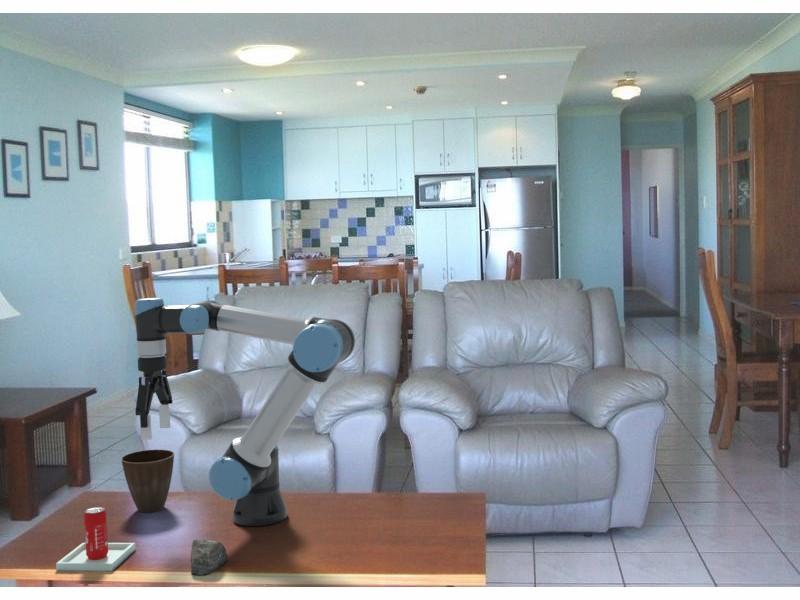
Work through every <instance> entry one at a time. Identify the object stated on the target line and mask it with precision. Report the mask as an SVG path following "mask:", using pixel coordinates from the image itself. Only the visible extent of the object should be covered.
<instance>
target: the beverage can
mask: <svg viewBox="0 0 800 600" xmlns="http://www.w3.org/2000/svg"><path fill="white" fill-rule="evenodd" d="M105 509H106V508H105V507H102V506H95V507H94V506H93V507H90V508H87V509H85V510H84V514H83V520H84V521H83V523H84V539H85V540H84V541H85V542H84V543H86V555H87V557H88V559H89V560H101V559H104V558H106V557H107V553H108V543H109V542H108V541H109V539H108V524H107V523H108V522H107V511H106V510H105Z"/></svg>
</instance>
